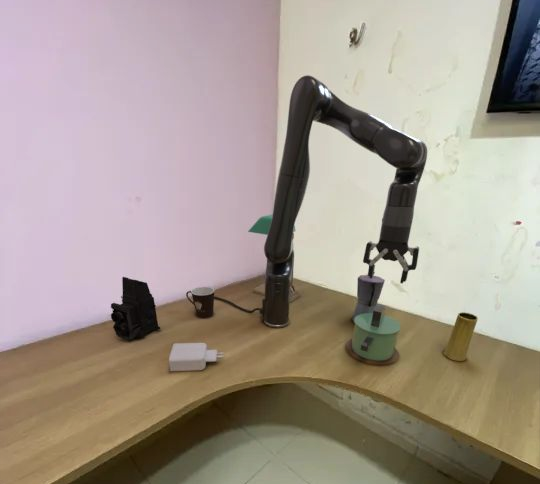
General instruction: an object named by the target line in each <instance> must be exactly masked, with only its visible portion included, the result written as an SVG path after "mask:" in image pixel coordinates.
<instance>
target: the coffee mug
mask: <svg viewBox="0 0 540 484" xmlns="http://www.w3.org/2000/svg"><path fill="white" fill-rule="evenodd" d="M189 294H191V297H192V300H191V298H190V296H189ZM185 296H186V298H187V300H188V301H189V302H190V303H191V304H192V305H193V306H194V310H195V315H196V317H197V318H199V319H209V318H211V317H213V316H214V306H215V305H214V304H215V298H214V296H215V289H214V288H213V287H209V286H201V287H195V288H193V289H192V290H188V291H187V292H186V294H185Z"/></svg>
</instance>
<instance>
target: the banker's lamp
mask: <svg viewBox="0 0 540 484" xmlns="http://www.w3.org/2000/svg"><path fill="white" fill-rule="evenodd" d="M272 216H273V213H272V214H268V215H263V216H260V217H259V218H258V219H257V220H256V221H255V223H253V225H252V226H251V227H250V228H249V230H247V232H248V233H254V234H260V235H265V236H266V235H268V232H269V229H270V225H271V221H272ZM295 232H296V226H295V224H294V229H293V235H292V240H293V241H294V239H295ZM294 266H295V249H293V264H292V273H291V288H290V303H291V302H294V300H296V299H297V298H299V297H300V296H301V293H300V291H299V289H297V288H296V286H295V285H294ZM253 293H255V294H259V295H262V296H265V283H262V284H260V285H259V286H257V287H254V288H253Z"/></svg>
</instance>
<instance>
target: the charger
mask: <svg viewBox="0 0 540 484" xmlns="http://www.w3.org/2000/svg"><path fill="white" fill-rule="evenodd" d="M224 354H225V352H218V349H208V346H207V343H205V342H181V343H180V342H179V343H178V342H177V343H173V345H172V348H171V351H170V354H169V357H168V364H169V365H168V366H169V371H170V372H191V371H193V372H194V371H203V370H204V369H206V365H207V363H217V361H218V358H224V357H225V355H224Z"/></svg>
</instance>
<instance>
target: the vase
mask: <svg viewBox="0 0 540 484" xmlns="http://www.w3.org/2000/svg"><path fill="white" fill-rule="evenodd" d="M478 320H479V317H478V316H477V315H475V314H473V313H470V312H466V311H465V312H462V311H461V312H458V313H457V317H456V320H455V323H454V325H453V328H452V331H451V333H450V337H449V339H448V341H447V344H446V347H445V349H444V352H443V354H444V356H445V357H446V358H447V359H449V360H452V361H454V362H464V361H466V360H467V359H466V357H467V354H468V350H469V348H470V344H471V341H472V338H473V334H474V332H475V330H476V329H475V328H476V326H477V322H478Z"/></svg>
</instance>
